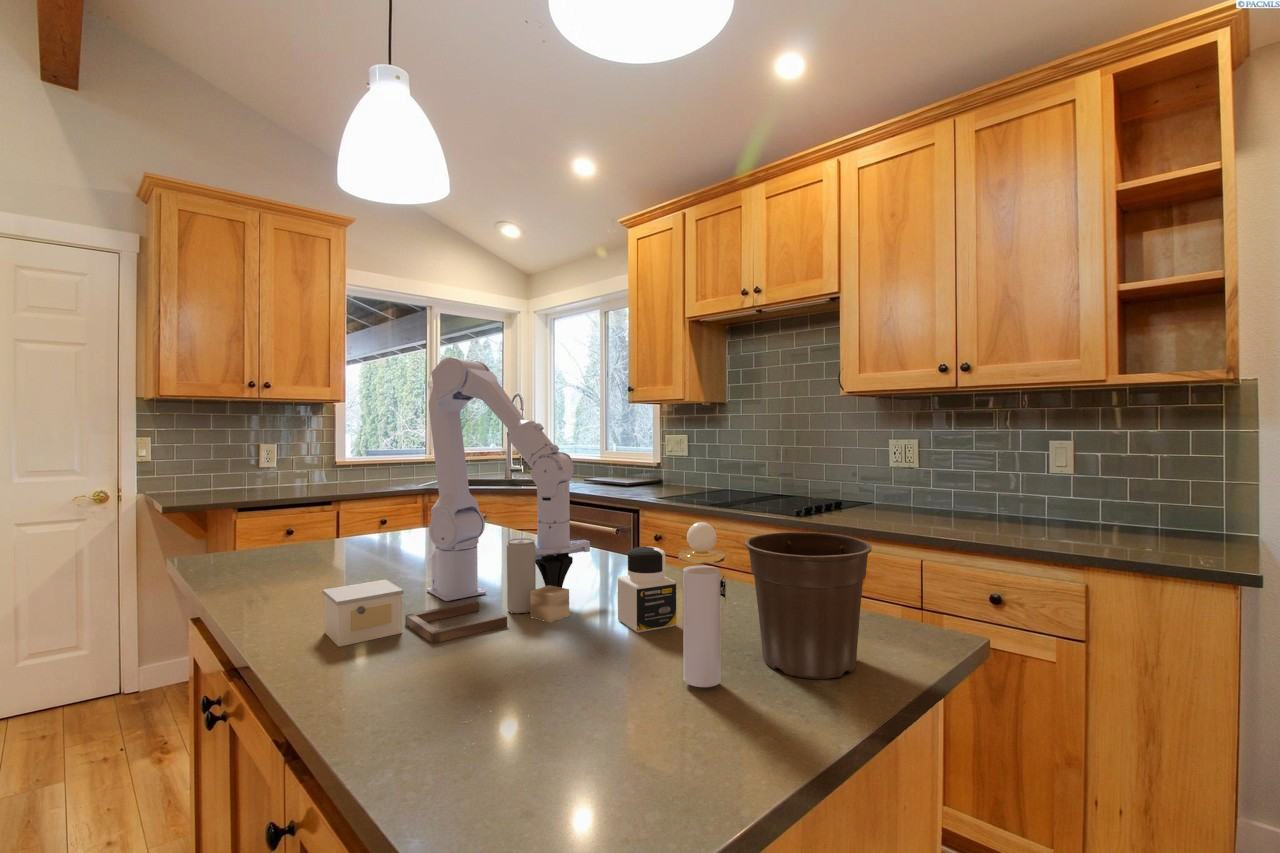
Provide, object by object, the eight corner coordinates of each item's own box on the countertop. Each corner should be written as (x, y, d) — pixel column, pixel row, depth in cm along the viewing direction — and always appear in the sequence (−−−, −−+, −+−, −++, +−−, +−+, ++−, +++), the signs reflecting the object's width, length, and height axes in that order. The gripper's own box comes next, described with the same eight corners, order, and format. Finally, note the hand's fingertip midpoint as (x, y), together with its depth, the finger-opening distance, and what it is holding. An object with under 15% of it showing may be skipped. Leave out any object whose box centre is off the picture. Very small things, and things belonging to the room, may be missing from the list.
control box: (322, 632, 94) (322, 589, 94) (385, 619, 100) (385, 579, 100) (338, 648, 87) (337, 602, 87) (404, 633, 93) (404, 590, 93)
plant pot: (758, 688, 74) (757, 555, 74) (736, 640, 90) (736, 531, 90) (892, 687, 74) (892, 554, 74) (846, 640, 90) (846, 531, 90)
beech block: (530, 618, 101) (530, 591, 101) (549, 611, 105) (549, 585, 105) (550, 623, 98) (550, 595, 98) (569, 616, 102) (569, 589, 102)
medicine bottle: (637, 633, 93) (636, 555, 93) (617, 620, 100) (616, 546, 100) (677, 626, 97) (677, 550, 97) (655, 613, 103) (655, 542, 103)
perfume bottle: (697, 700, 71) (697, 527, 71) (669, 682, 76) (668, 521, 76) (735, 688, 74) (735, 523, 74) (705, 672, 79) (705, 517, 79)
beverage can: (538, 606, 107) (538, 538, 107) (531, 615, 102) (530, 543, 102) (512, 605, 108) (511, 537, 107) (503, 614, 103) (502, 543, 103)
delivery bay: (405, 624, 98) (405, 615, 98) (475, 609, 106) (475, 600, 106) (432, 643, 89) (432, 633, 89) (507, 626, 97) (507, 616, 97)
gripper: (529, 528, 101) (529, 610, 101) (599, 519, 111) (599, 594, 111) (508, 523, 107) (508, 600, 107) (577, 514, 116) (577, 586, 116)
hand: (553, 597), depth 109 cm, fingers closed
